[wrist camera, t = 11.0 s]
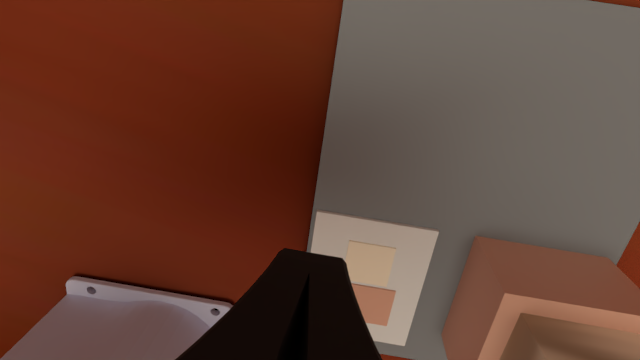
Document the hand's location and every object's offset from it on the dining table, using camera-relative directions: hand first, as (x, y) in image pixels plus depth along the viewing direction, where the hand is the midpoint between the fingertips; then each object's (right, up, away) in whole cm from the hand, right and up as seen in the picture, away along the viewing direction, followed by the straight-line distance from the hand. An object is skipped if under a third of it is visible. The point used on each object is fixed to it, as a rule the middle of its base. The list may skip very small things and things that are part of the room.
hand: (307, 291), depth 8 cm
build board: (+7, +1, +10) cm, 12 cm away
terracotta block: (+10, -3, +11) cm, 15 cm away
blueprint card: (+2, -3, +11) cm, 12 cm away
